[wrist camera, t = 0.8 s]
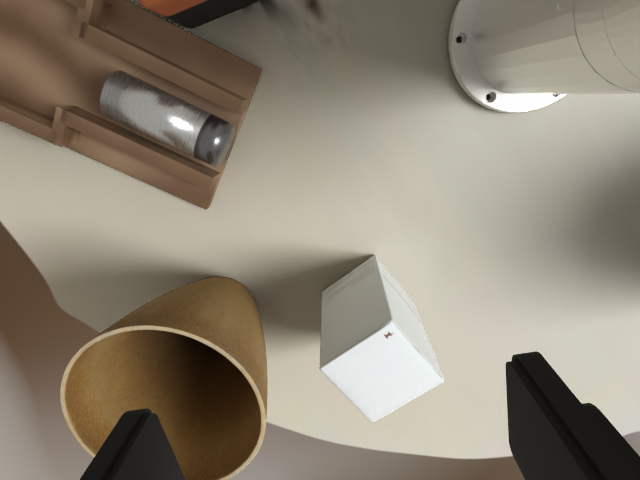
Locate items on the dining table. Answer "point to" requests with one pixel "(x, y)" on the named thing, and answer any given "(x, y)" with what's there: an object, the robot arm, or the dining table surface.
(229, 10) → the battery
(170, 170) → the tray
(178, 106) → the shaft
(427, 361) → the supplement box
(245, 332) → the plant pot
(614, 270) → the dining table surface
